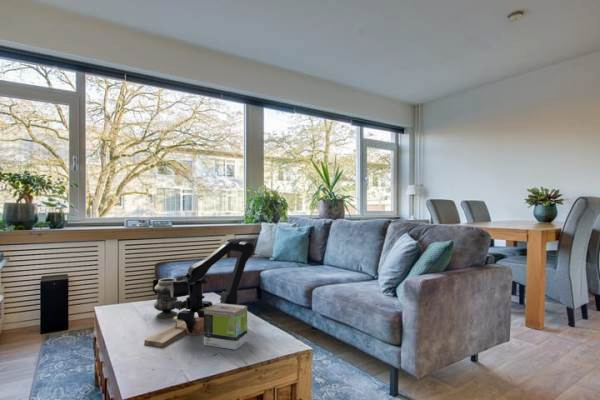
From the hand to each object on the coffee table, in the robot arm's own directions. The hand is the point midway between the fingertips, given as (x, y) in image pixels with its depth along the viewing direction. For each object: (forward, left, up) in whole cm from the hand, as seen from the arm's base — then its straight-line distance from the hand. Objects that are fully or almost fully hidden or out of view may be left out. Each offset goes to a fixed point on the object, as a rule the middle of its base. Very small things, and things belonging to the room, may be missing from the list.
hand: (195, 329), depth 148 cm
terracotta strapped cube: (+4, 0, -1) cm, 4 cm away
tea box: (-18, +6, -2) cm, 19 cm away
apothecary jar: (+27, -15, -1) cm, 31 cm away
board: (+8, +6, -1) cm, 10 cm away
